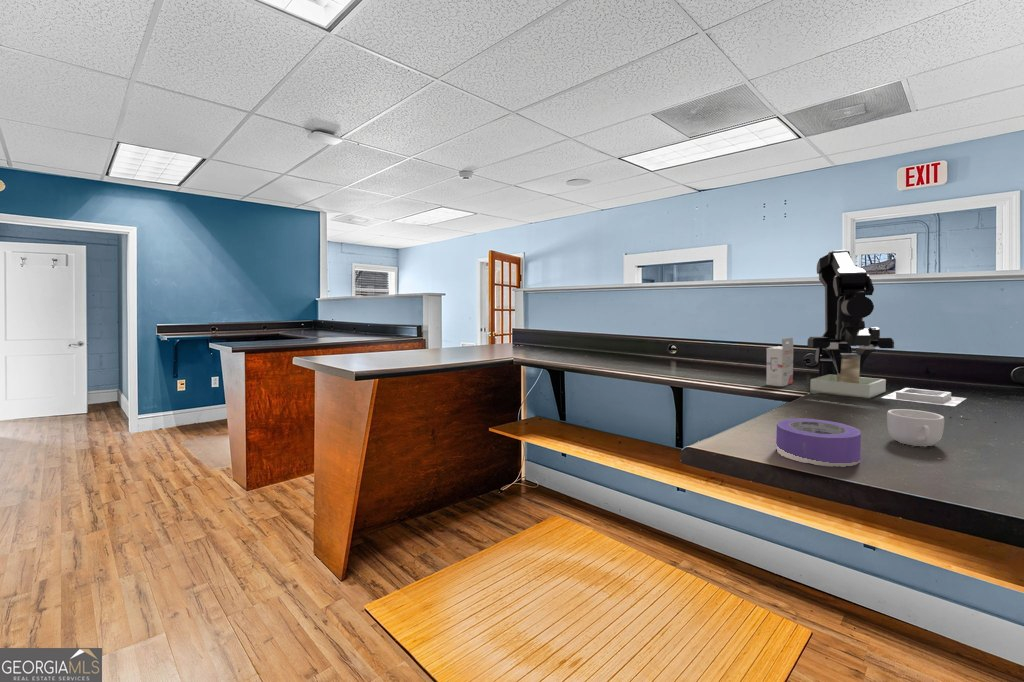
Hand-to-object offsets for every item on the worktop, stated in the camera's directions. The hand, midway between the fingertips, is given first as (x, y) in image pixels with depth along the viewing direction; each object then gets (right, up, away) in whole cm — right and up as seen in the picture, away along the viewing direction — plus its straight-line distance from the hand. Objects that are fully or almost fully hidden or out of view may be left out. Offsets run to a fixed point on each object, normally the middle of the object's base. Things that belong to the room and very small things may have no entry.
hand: (848, 373), depth 129 cm
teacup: (-22, -10, -47) cm, 52 cm away
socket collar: (+12, -6, -10) cm, 17 cm away
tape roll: (-42, -11, -51) cm, 67 cm away
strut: (0, -3, 0) cm, 3 cm away
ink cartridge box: (-9, -5, +17) cm, 20 cm away
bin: (0, -6, 0) cm, 6 cm away
